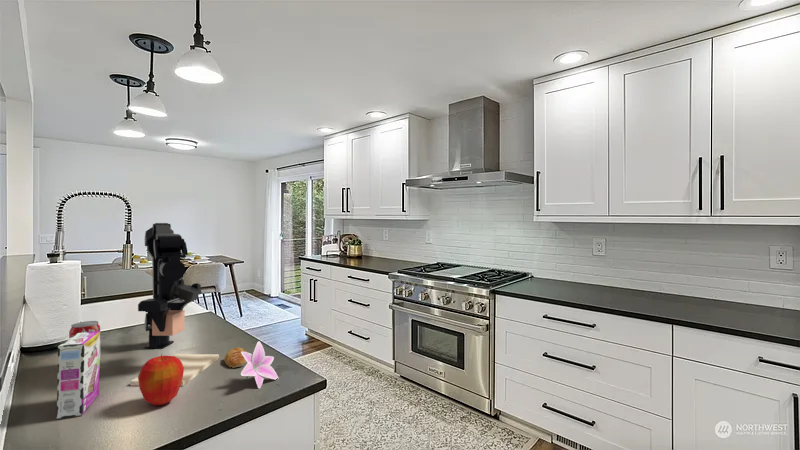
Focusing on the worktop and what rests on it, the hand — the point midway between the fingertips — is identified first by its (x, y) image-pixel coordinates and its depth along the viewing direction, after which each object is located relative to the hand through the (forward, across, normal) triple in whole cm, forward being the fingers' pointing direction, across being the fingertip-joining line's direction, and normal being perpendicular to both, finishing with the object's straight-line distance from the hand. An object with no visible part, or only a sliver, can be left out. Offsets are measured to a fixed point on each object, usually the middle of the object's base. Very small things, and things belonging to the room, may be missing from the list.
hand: (168, 328), depth 112 cm
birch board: (+12, -2, -4) cm, 13 cm away
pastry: (+12, +5, -18) cm, 23 cm away
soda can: (+12, -1, +24) cm, 27 cm away
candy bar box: (+12, -24, +6) cm, 27 cm away
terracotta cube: (+1, 0, 0) cm, 1 cm away
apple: (+12, -21, -12) cm, 27 cm away
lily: (+12, -9, -30) cm, 34 cm away
